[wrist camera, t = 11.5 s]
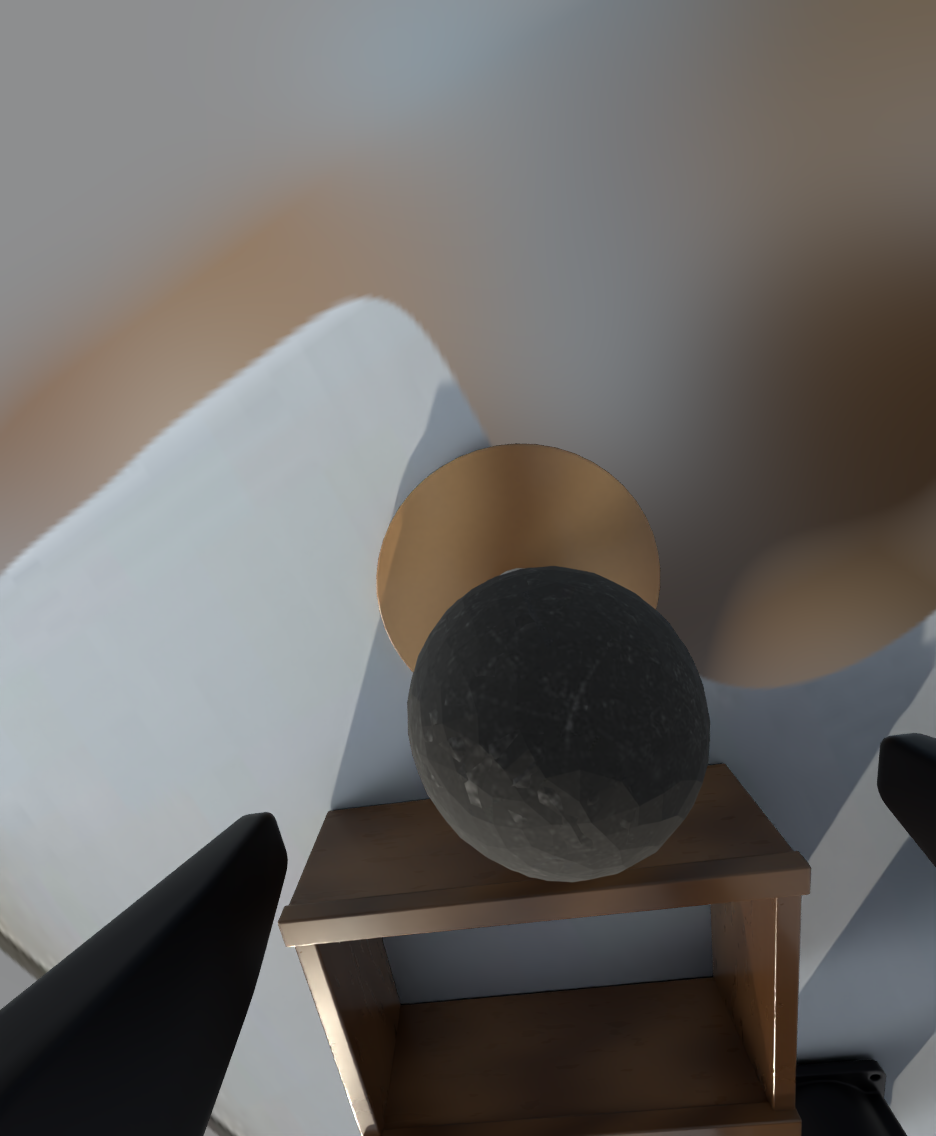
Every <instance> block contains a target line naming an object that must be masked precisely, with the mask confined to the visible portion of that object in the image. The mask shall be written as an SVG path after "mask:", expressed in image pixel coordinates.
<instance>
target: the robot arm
mask: <svg viewBox="0 0 936 1136" xmlns="http://www.w3.org/2000/svg"><path fill="white" fill-rule="evenodd" d="M877 787H878V791H879V793H880V796H881V798H882V800H883V801H884V803H885V804H886V806H887V807H888V808H889V810H890V811H891V812H892V813H893V815H894V816H895V817H896V818H897V820H898V821H899V822H900V823H901V825H902V826H903V827H904V828H905V830H906V831H907V832H908V833H909V835H910V836H911V837H912V838H913V840H914V841H915V842H916V843H917V845H918V846H919V847H920V848H921V850H922V851H923V852H924V853H925V855H926V856H927V857H928V858H929V860H930V861H931V862H932V863H933V865H934V866H935V867H936V739H935V738H932V737H929V736H926V735H923V734H917V733H910V734H902V735H894V736H888V737H886V738H884V739H883V741H882V742H881V744H880V752H879V765H878V777H877ZM287 863H288V858H287V852H286V849H285V846H284V843H283V840H282V837H281V834H280V831H279V828H278V825H277V822H276V819H275V817H274V816H273V815H272V814H271V813H268V812H263V813H255V814H248V815H245V816H242V817H241V818H240V819H238V820H237V821H236V822H235V823H233V824H232V825H231V826H230V827H228V828H227V829H226V830H225V831H223V832H222V833H221V834H220V835H218V836H217V837H216V838H215V839H213V840H212V841H211V842H210V843H208V844H207V845H206V846H205V847H203V848H202V849H201V850H200V851H198V852H197V853H196V854H195V855H193V856H192V857H191V858H190V859H188V860H187V861H186V862H185V863H183V864H182V865H181V866H180V867H178V868H177V869H176V870H175V871H173V872H172V873H171V874H170V875H168V876H167V877H166V878H165V879H163V880H162V881H161V882H160V883H158V884H157V885H156V886H155V887H153V888H152V889H151V890H150V891H148V892H147V893H146V894H145V895H143V896H142V897H141V898H140V899H138V900H137V901H136V902H135V903H133V904H132V905H131V906H130V907H128V908H127V909H126V910H125V911H123V912H122V913H121V914H120V915H118V916H117V917H116V918H115V919H113V920H112V921H111V922H110V923H108V924H107V925H106V926H105V927H103V928H102V929H101V930H100V931H98V932H97V933H96V934H95V935H93V936H92V937H91V938H90V939H88V940H87V941H86V942H85V943H83V944H82V945H81V946H80V947H78V948H77V949H76V950H75V951H73V952H72V953H71V954H70V955H68V956H67V957H66V958H65V959H63V960H62V961H61V962H60V963H58V964H57V965H56V966H55V967H53V968H52V969H51V970H50V971H48V972H47V973H46V974H45V975H43V976H42V977H41V978H40V979H38V980H37V981H36V982H35V983H33V984H32V985H31V986H30V987H28V988H27V989H26V990H25V991H23V992H22V993H21V994H20V995H18V996H17V997H16V998H15V999H13V1000H12V1001H11V1002H10V1003H8V1004H7V1005H6V1006H5V1007H4V1008H2V1009H1V1010H0V1136H203V1135H204V1133H205V1130H206V1127H207V1124H208V1121H209V1119H210V1116H211V1113H212V1110H213V1107H214V1104H215V1102H216V1099H217V1096H218V1093H219V1090H220V1088H221V1085H222V1082H223V1079H224V1076H225V1073H226V1071H227V1068H228V1065H229V1062H230V1059H231V1056H232V1054H233V1051H234V1048H235V1045H236V1042H237V1040H238V1037H239V1034H240V1031H241V1028H242V1025H243V1023H244V1020H245V1017H246V1014H247V1011H248V1008H249V1005H250V1002H251V999H252V996H253V993H254V990H255V986H256V983H257V979H258V976H259V973H260V969H261V965H262V962H263V958H264V954H265V950H266V947H267V943H268V939H269V935H270V932H271V928H272V924H273V920H274V917H275V913H276V909H277V905H278V901H279V898H280V894H281V890H282V886H283V883H284V879H285V875H286V871H287ZM885 1082H886V1074H885V1073H884V1071H883V1070H882V1068H881V1066H880V1065H879V1063H878V1062H877V1061H875V1060H857V1061H844V1062H831V1063H818V1064H805V1065H796V1091H795V1108H796V1110H797V1112H798V1114H799V1116H800V1118H801V1121H802V1128H801V1136H907V1135H906V1133H905V1131H904V1130H903V1128H902V1127H901V1125H900V1123H899V1122H898V1120H897V1119H896V1117H895V1115H894V1114H893V1112H892V1111H891V1109H890V1107H889V1106H888V1104H887V1103H886V1101H885V1099H884V1091H885Z"/></svg>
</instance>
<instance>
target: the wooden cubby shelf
mask: <svg viewBox="0 0 936 1136" xmlns="http://www.w3.org/2000/svg"><path fill="white" fill-rule="evenodd" d="M810 884H811V867H810V865H809V864H808V862H807V861H806V860H805V859H804V857H803V856H802V855H801V854H800V852H798V851H793V850H792V848H791V847H790V846H789V845H788V843H787V842H786V841H785V839H784V838H783V837H782V836H781V834H780V833H779V832H778V831H777V829H776V828H775V827H774V825H773V824H772V823H771V822H770V820H769V819H768V818H767V816H766V815H765V814H764V813H763V811H762V810H761V809H760V808H759V806H758V805H757V804H756V802H755V801H754V800H753V799H752V797H751V796H750V795H749V793H748V792H747V791H746V790H745V788H744V787H743V786H742V785H741V783H740V782H739V781H738V779H737V778H736V777H735V776H734V774H733V773H732V772H731V770H730V769H729V768H728V767H727V765H726V764H724V763H723V764H715V765H708V766H707V769H706V773H705V777H704V780H703V784H702V786H701V788H700V791H699V793H698V796H697V798H696V801H695V803H694V805H693V807H692V809H691V810H690V812H689V813H688V815H687V817H686V818H685V820H684V821H683V822H682V823H681V824H680V825H679V827H678V828H677V829H676V830H675V831H674V832H673V834H672V835H671V836H670V837H669V838H668V839H667V841H666V842H665V843H664V844H663V845H662V846H661V848H660V849H659V850H658V851H657V852H656V853H654V854H652V855H651V856H649V857H647V858H645V859H643V860H642V861H640V862H638V863H636V864H634V865H633V866H631V867H629V868H627V869H625V870H624V871H622V872H620V873H618V874H614V875H609V876H604V877H599V878H595V879H591V880H584V881H578V882H560V881H546V880H542V879H539V878H531V877H528V876H526V875H523V874H521V873H519V872H516V871H512V870H510V869H508V868H506V867H505V866H503V865H501V864H499V863H497V862H495V861H493V860H491V859H489V858H487V857H486V856H484V855H483V854H482V853H480V852H479V851H477V850H476V849H475V848H473V847H472V846H471V845H469V844H468V843H467V842H465V841H464V840H463V839H461V838H460V837H459V836H458V834H457V833H456V832H455V831H454V830H453V829H452V827H451V826H450V825H449V824H448V823H447V821H446V820H445V819H444V818H443V816H442V815H441V813H440V812H439V811H438V809H437V808H436V806H435V805H434V803H433V802H432V800H431V799H425V800H417V801H408V802H400V803H392V804H383V805H375V806H367V807H359V808H350V809H342V810H334V811H328V813H327V815H326V818H325V820H324V822H323V825H322V827H321V830H320V832H319V834H318V837H317V839H316V842H315V844H314V846H313V849H312V851H311V854H310V856H309V858H308V861H307V863H306V866H305V868H304V870H303V873H302V875H301V878H300V880H299V882H298V885H297V887H296V890H295V892H294V894H293V897H292V899H291V902H290V904H289V905H288V906H285V907H284V909H283V911H282V913H281V916H280V918H279V920H278V926H279V928H280V931H281V934H282V937H283V940H284V942H285V945H286V947H292V946H295V948H296V951H297V954H298V957H299V960H300V963H301V965H302V968H303V971H304V974H305V977H306V980H307V983H308V985H309V988H310V991H311V994H312V997H313V1000H314V1002H315V1005H316V1008H317V1011H318V1014H319V1017H320V1019H321V1022H322V1025H323V1028H324V1031H325V1034H326V1037H327V1039H328V1042H329V1045H330V1048H331V1051H332V1054H333V1056H334V1059H335V1062H336V1065H337V1068H338V1071H339V1074H340V1076H341V1079H342V1082H343V1085H344V1088H345V1091H346V1093H347V1096H348V1099H349V1102H350V1105H351V1108H352V1110H353V1113H354V1116H355V1119H356V1122H357V1125H358V1128H359V1130H360V1133H361V1136H801V1128H802V1121H801V1118H800V1116H799V1114H798V1112H797V1110H796V1108H795V1091H796V1058H797V1025H798V993H799V960H800V927H801V895H807V894H810ZM708 904H711V930H712V958H713V977H709V978H698V979H687V980H676V981H665V982H654V983H643V984H632V985H621V986H610V987H598V988H587V989H576V990H565V991H554V992H543V993H532V994H521V995H510V996H499V997H488V998H477V999H466V1000H455V1001H444V1002H433V1003H422V1004H411V1005H401V1004H400V1001H399V997H398V994H397V990H396V986H395V983H394V979H393V976H392V972H391V969H390V965H389V962H388V958H387V955H386V951H385V948H384V944H383V941H382V937H391V936H401V935H411V934H421V933H431V932H441V931H450V930H460V929H470V928H480V927H490V926H500V925H510V924H520V923H530V922H540V921H550V920H559V919H569V918H579V917H589V916H599V915H609V914H619V913H629V912H639V911H649V910H659V909H669V908H678V907H688V906H698V905H708Z"/></svg>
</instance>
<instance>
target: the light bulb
mask: <svg viewBox="0 0 936 1136" xmlns="http://www.w3.org/2000/svg"><path fill="white" fill-rule="evenodd" d="M407 708H408V736H409V740H410V745H411V750H412V755H413V758H414V761H415V764H416V767H417V770H418V773H419V775H420V778H421V780H422V783H423V785H424V787H425V790H426V792H427V795H428V796H429V797H430V799H431V800H432V802H433V803H434V805H435V806H436V808H437V809H438V811H439V812H440V813H441V815H442V816H443V818H444V819H445V820H446V821H447V823H448V824H449V825H450V826H451V827H452V829H453V830H454V831H455V832H456V833H457V834H458V836H459V837H460V838H461V839H463V840H464V841H465V842H467V843H468V844H469V845H471V846H472V847H473V848H475V849H476V850H477V851H479V852H480V853H482V854H483V855H484V856H486V857H487V858H489V859H491V860H493V861H495V862H497V863H499V864H501V865H503V866H505V867H506V868H508V869H510V870H512V871H516V872H519V873H521V874H523V875H526V876H528V877H531V878H539V879H542V880H546V881H560V882H578V881H584V880H591V879H595V878H599V877H604V876H609V875H614V874H618V873H620V872H622V871H624V870H625V869H627V868H629V867H631V866H633V865H634V864H636V863H638V862H640V861H642V860H643V859H645V858H647V857H649V856H651V855H652V854H654V853H656V852H657V851H658V850H659V849H660V848H661V846H662V845H663V844H664V843H665V842H666V841H667V839H668V838H669V837H670V836H671V835H672V834H673V832H674V831H675V830H676V829H677V828H678V827H679V825H680V824H681V823H682V822H683V821H684V820H685V818H686V817H687V815H688V813H689V812H690V810H691V809H692V807H693V805H694V803H695V801H696V798H697V796H698V793H699V791H700V788H701V786H702V784H703V780H704V777H705V773H706V769H707V766H708V760H709V742H710V718H709V713H708V708H707V703H706V697H705V692H704V687H703V684H702V681H701V679H700V676H699V673H698V670H697V669H696V666H695V664H694V661H693V659H692V657H691V656H690V654H689V652H688V650H687V648H686V646H685V645H684V644H683V642H682V641H681V640H680V639H679V637H678V635H677V634H676V633H675V631H674V629H673V628H672V627H671V625H670V623H669V622H668V621H667V620H666V619H665V618H664V617H663V616H662V615H661V614H660V613H659V612H658V611H657V610H656V609H654V608H653V607H652V606H651V605H649V604H648V603H647V602H646V601H644V600H643V599H642V598H641V597H640V596H638V595H637V594H636V593H634V592H632V591H630V590H629V589H627V588H625V587H623V586H621V585H619V584H617V583H615V582H613V581H611V580H609V579H607V578H604V577H602V576H600V575H598V574H595V573H592V572H588V571H582V570H577V569H571V568H566V567H558V566H546V567H535V568H516V569H512V570H509V571H506V572H504V573H502V574H501V575H499V576H496V577H494V578H492V579H489V580H487V581H486V582H484V583H482V584H480V585H478V586H477V587H475V588H473V589H471V590H470V591H469V592H468V593H466V594H465V595H464V596H463V597H462V598H460V599H458V600H457V601H456V602H455V603H454V604H453V605H452V606H451V607H450V608H448V609H447V611H446V612H445V613H444V615H443V616H442V617H441V619H440V620H439V622H438V623H437V624H436V626H435V627H434V628H433V630H432V631H431V633H430V634H429V636H428V638H427V640H426V642H425V644H424V646H423V648H422V649H421V651H420V653H419V655H418V658H417V662H416V665H415V669H414V672H413V676H412V680H411V685H410V690H409V696H408V701H407Z"/></svg>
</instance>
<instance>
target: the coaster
mask: <svg viewBox="0 0 936 1136" xmlns="http://www.w3.org/2000/svg"><path fill="white" fill-rule="evenodd" d="M546 566H558V567H566V568H571V569H577V570H582V571H588V572H592V573H595V574H598V575H600V576H602V577H604V578H607V579H609V580H611V581H613V582H615V583H617V584H619V585H621V586H623V587H625V588H627V589H629V590H630V591H632V592H634V593H636V594H637V595H638V596H640V597H641V598H642V599H643V600H644V601H646V602H647V603H648V604H649V605H651V606H652V607H653V608H654V609H656V608H657V604H658V598H659V591H660V562H659V554H658V549H657V545H656V542H655V538H654V534H653V532H652V530H651V527H650V525H649V522H648V520H647V518H646V516H645V514H644V513H643V511H642V509H641V508H640V506H639V505H638V503H637V501H636V500H635V499H634V497H633V496H632V495H631V494H630V493H629V492H628V490H627V489H626V488H625V487H624V486H623V485H622V484H621V483H620V482H619V481H618V480H616V479H615V478H614V477H613V476H612V475H611V474H610V473H609V472H607V471H606V470H604V469H603V468H601V467H600V466H598V465H597V464H595V463H594V462H592V461H589V460H587V459H585V458H583V457H581V456H579V455H577V454H575V453H572V452H568V451H565V450H562V449H559V448H555V447H550V446H544V445H538V444H507V445H497V446H493V447H488V448H484V449H480V450H476V451H474V452H471V453H469V454H466V455H463V456H461V457H458V458H456V459H455V460H453V461H451V462H449V463H447V464H446V465H444V466H442V467H440V468H439V469H438V470H436V471H435V472H434V473H432V474H431V475H429V476H428V477H427V478H425V479H424V480H423V481H422V482H421V483H420V484H419V485H418V486H417V487H416V488H415V489H414V490H413V491H412V492H411V493H410V494H409V496H408V497H407V498H406V500H405V501H404V502H403V503H402V505H401V506H400V507H399V509H398V511H397V512H396V514H395V516H394V518H393V519H392V521H391V523H390V525H389V527H388V530H387V532H386V535H385V537H384V539H383V543H382V546H381V550H380V554H379V558H378V567H377V575H376V579H377V598H378V604H379V611H380V614H381V617H382V621H383V624H384V627H385V629H386V632H387V634H388V636H389V638H390V641H391V643H392V644H393V646H394V648H395V649H396V651H397V652H398V654H399V656H400V657H401V658H402V660H403V661H404V662H405V663H406V665H407V666H408V667H409V668H410V670H411V671H412V672H414V669H415V665H416V662H417V658H418V655H419V653H420V651H421V649H422V648H423V646H424V644H425V642H426V640H427V638H428V636H429V634H430V633H431V631H432V630H433V628H434V627H435V626H436V624H437V623H438V622H439V620H440V619H441V617H442V616H443V615H444V613H445V612H446V611H447V609H448V608H450V607H451V606H452V605H453V604H454V603H455V602H456V601H457V600H458V599H460V598H462V597H463V596H464V595H465V594H466V593H468V592H469V591H470V590H471V589H473V588H475V587H477V586H478V585H480V584H482V583H484V582H486V581H487V580H489V579H492V578H494V577H496V576H499V575H501V574H502V573H504V572H506V571H509V570H512V569H516V568H535V567H546Z"/></svg>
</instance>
